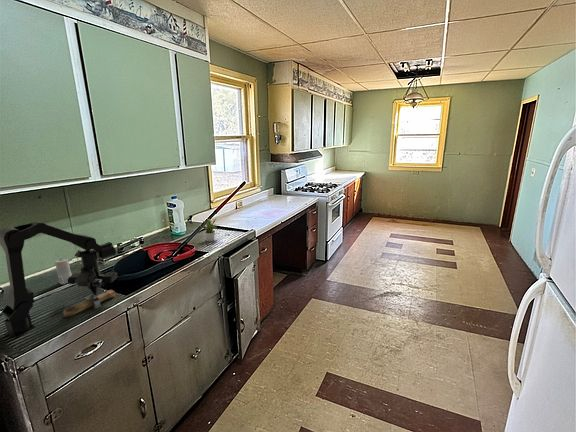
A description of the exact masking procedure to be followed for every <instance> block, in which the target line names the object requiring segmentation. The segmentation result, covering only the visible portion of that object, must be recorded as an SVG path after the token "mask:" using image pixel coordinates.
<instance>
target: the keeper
mask: <svg viewBox="0 0 576 432" xmlns="http://www.w3.org/2000/svg"><path fill="white" fill-rule="evenodd" d="M85 299H86V300H90V301H91V302H92V303H93V306H92V307H93V309H94V310H97V309H100V308H101V302H100V299H99V298H97V297H96V295H94V294H90V295H87V296H85ZM99 307H100V308H99Z"/></svg>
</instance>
